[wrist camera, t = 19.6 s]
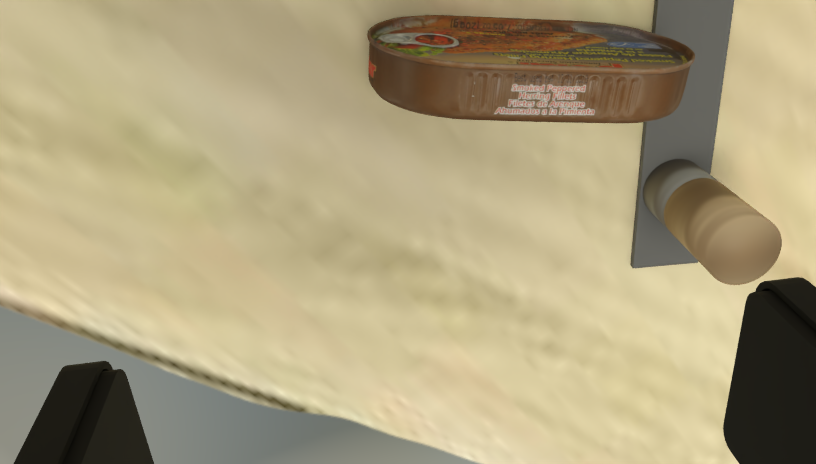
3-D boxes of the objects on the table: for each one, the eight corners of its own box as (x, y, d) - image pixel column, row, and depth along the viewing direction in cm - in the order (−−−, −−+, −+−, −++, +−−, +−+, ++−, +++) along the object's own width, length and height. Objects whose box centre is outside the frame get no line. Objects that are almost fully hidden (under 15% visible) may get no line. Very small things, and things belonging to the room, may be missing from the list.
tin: (653, 24, 37) (733, 58, 30) (642, 84, 39) (715, 131, 31) (364, 10, 36) (371, 43, 28) (363, 73, 37) (368, 120, 30)
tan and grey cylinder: (645, 161, 40) (711, 220, 33) (708, 156, 40) (787, 213, 33) (640, 219, 42) (702, 288, 35) (700, 214, 42) (775, 281, 35)
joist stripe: (668, -145, 34) (671, -145, 34) (750, -149, 34) (754, -150, 34) (630, 265, 44) (633, 268, 43) (694, 259, 44) (697, 262, 43)
